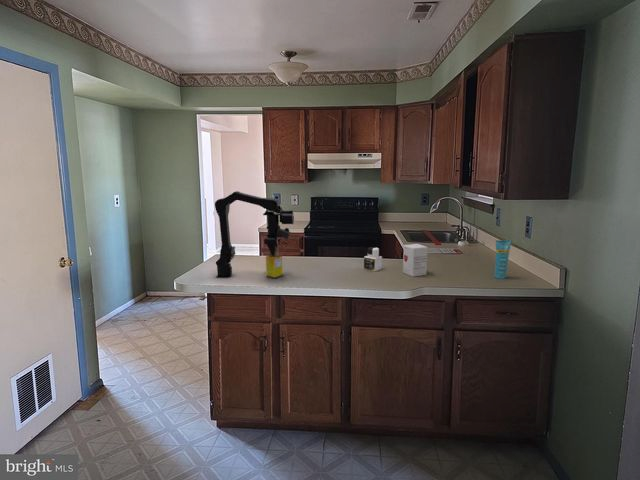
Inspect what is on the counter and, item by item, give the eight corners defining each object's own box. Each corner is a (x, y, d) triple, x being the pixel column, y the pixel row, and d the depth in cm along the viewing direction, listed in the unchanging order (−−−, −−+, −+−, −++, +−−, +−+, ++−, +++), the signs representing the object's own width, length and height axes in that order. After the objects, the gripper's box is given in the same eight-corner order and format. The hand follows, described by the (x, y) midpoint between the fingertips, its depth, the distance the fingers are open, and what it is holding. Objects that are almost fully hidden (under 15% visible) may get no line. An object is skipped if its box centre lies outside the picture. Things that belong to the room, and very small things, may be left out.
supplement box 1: (274, 274, 214) (274, 253, 212) (282, 276, 210) (282, 255, 208) (266, 276, 209) (265, 256, 207) (274, 279, 206) (273, 257, 203)
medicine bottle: (363, 269, 223) (363, 247, 221) (371, 266, 228) (371, 245, 226) (374, 271, 218) (374, 249, 216) (382, 269, 223) (382, 247, 221)
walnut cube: (269, 256, 206) (269, 248, 205) (270, 254, 210) (270, 247, 209) (277, 256, 206) (277, 249, 205) (278, 254, 209) (278, 247, 209)
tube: (495, 279, 204) (498, 241, 200) (490, 276, 209) (493, 239, 205) (509, 278, 204) (513, 241, 201) (505, 276, 209) (508, 239, 205)
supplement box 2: (402, 272, 216) (403, 244, 214) (416, 270, 220) (417, 243, 217) (412, 277, 208) (413, 248, 205) (426, 275, 212) (428, 246, 209)
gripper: (286, 227, 195) (287, 259, 198) (291, 221, 213) (292, 250, 216) (263, 227, 195) (264, 258, 199) (270, 221, 214) (271, 250, 217)
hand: (273, 254), depth 207 cm, fingers closed on walnut cube, 4 cm apart
